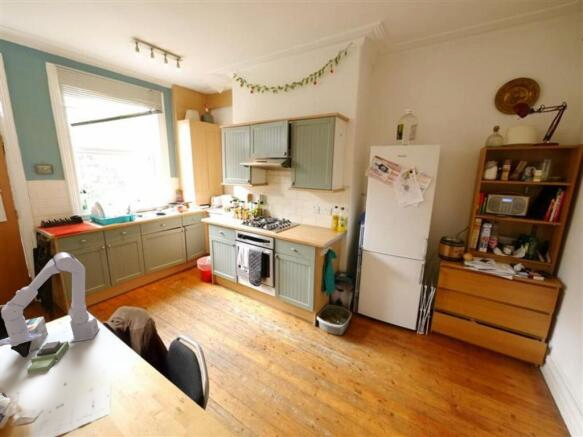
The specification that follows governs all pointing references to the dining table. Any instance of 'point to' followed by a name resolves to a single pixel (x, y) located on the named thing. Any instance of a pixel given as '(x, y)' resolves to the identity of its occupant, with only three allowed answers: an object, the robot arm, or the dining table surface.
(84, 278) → the robot arm
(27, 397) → the dining table surface
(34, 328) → the light bulb box
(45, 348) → the chute block
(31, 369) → the green tray
